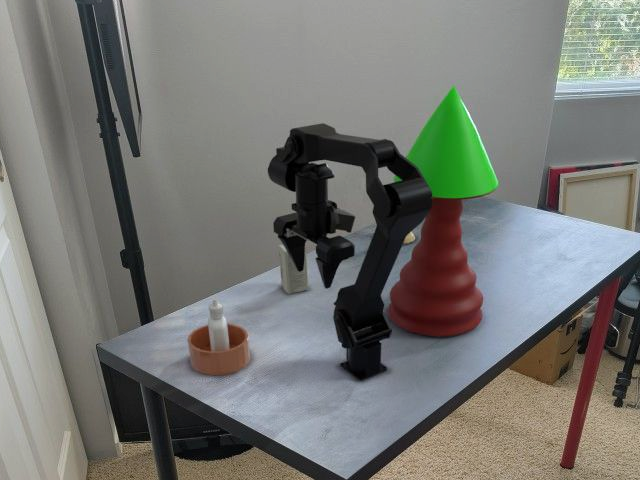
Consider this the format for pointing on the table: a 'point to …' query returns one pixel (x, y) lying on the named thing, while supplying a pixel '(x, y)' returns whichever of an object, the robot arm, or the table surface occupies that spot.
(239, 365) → the round bowl
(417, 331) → the table lamp
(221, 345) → the eye dropper bottle
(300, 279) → the beige carton box
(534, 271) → the table surface
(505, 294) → the table surface
